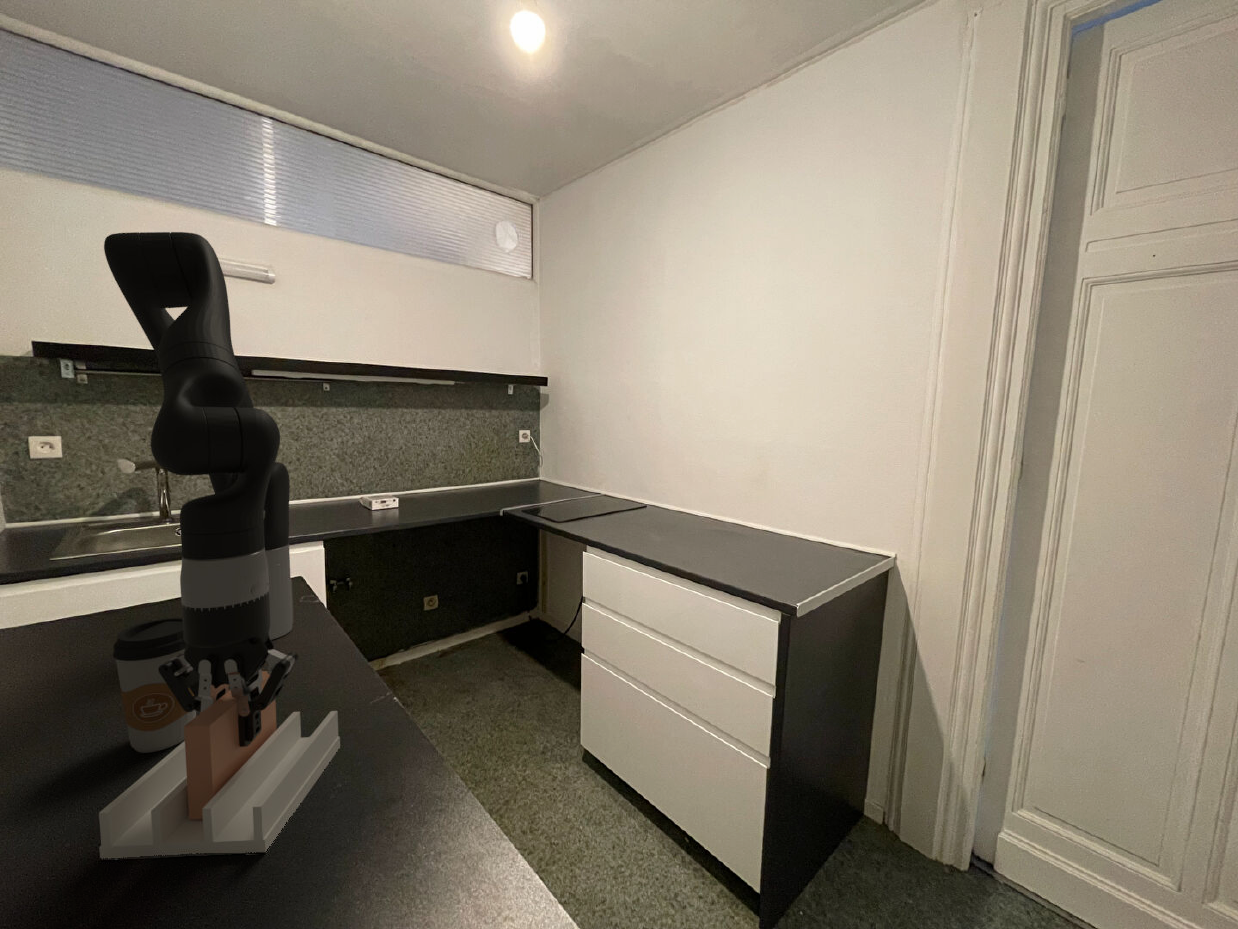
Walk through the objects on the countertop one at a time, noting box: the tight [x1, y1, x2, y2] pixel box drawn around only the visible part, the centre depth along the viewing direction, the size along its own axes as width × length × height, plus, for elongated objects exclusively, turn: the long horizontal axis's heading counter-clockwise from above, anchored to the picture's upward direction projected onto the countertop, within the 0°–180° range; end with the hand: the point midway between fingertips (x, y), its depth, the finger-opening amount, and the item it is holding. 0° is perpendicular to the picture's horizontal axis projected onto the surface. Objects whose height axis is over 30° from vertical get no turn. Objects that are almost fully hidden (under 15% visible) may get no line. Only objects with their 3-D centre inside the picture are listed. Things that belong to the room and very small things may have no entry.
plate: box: [184, 670, 278, 819], centre depth 57 cm, size 11×2×10 cm, turn 5°
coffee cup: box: [112, 616, 197, 753], centre depth 66 cm, size 8×8×15 cm
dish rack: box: [98, 710, 341, 859], centre depth 57 cm, size 16×15×5 cm
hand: (234, 742), depth 56 cm, fingers closed on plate, 2 cm apart
